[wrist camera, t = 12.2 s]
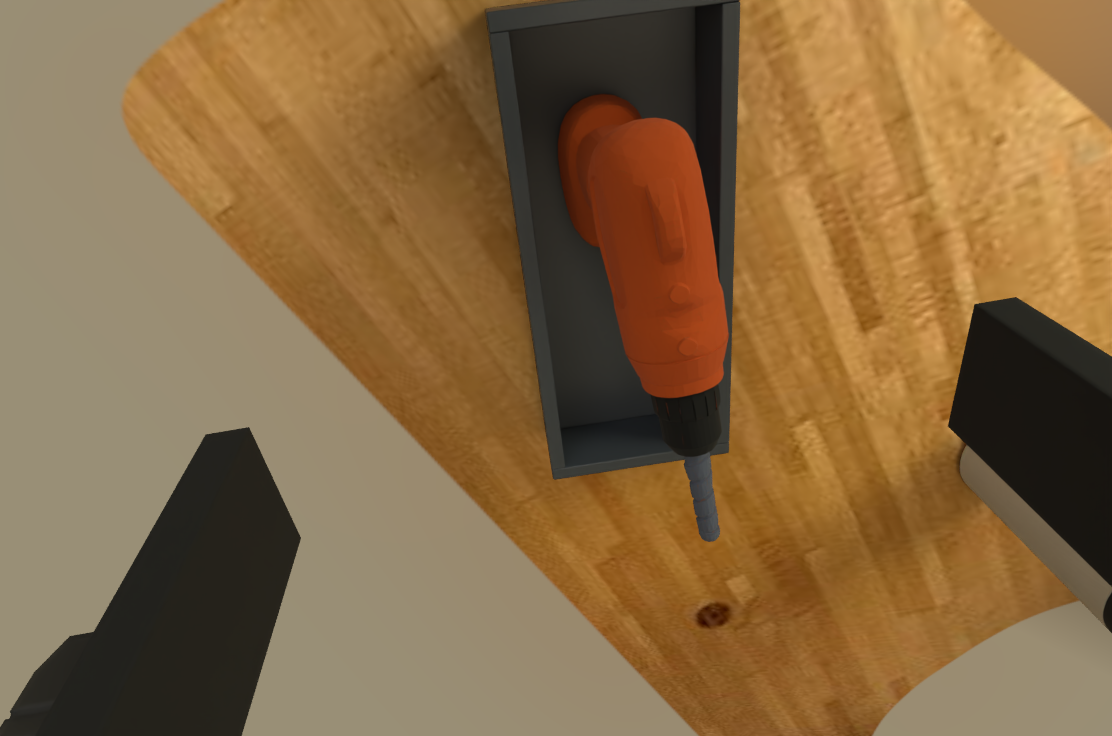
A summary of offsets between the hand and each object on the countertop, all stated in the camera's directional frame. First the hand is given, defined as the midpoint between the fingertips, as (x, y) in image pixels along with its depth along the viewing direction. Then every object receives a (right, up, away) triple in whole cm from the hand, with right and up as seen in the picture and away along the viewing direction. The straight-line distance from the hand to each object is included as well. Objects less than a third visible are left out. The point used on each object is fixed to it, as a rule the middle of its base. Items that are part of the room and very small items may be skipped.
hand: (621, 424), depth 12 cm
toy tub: (+2, +8, +25) cm, 26 cm away
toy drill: (+2, +8, +25) cm, 26 cm away
